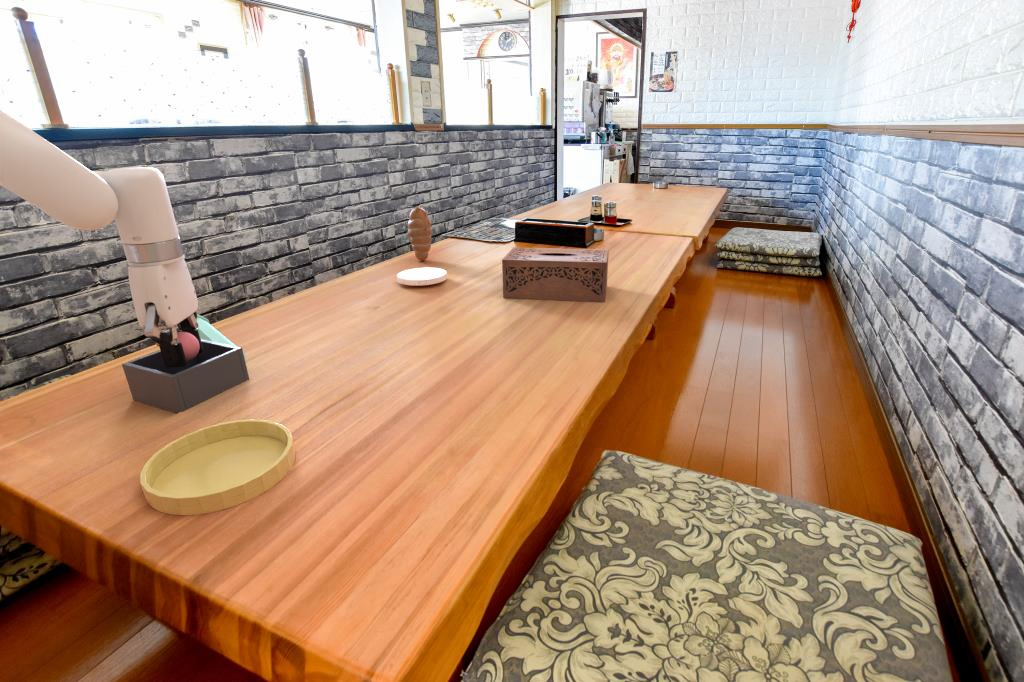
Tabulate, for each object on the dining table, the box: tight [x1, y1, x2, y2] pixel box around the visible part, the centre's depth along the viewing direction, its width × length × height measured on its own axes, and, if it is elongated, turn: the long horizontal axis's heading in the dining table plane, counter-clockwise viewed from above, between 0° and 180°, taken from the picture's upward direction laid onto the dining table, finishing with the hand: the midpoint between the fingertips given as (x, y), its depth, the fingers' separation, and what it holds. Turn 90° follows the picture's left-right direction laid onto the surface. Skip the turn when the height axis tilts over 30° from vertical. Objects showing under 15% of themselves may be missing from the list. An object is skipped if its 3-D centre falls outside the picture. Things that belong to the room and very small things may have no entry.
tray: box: [139, 418, 296, 516], centre depth 68 cm, size 17×17×3 cm
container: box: [180, 313, 247, 364], centre depth 104 cm, size 6×6×25 cm
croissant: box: [407, 204, 433, 262], centre depth 172 cm, size 9×8×18 cm
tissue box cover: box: [501, 246, 610, 303], centre depth 138 cm, size 26×14×10 cm, turn 79°
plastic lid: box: [396, 266, 448, 287], centre depth 151 cm, size 14×14×2 cm
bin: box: [121, 339, 250, 414], centre depth 89 cm, size 13×13×7 cm
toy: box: [177, 331, 200, 361], centre depth 88 cm, size 5×5×5 cm
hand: (185, 358), depth 88 cm, fingers closed on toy, 4 cm apart
